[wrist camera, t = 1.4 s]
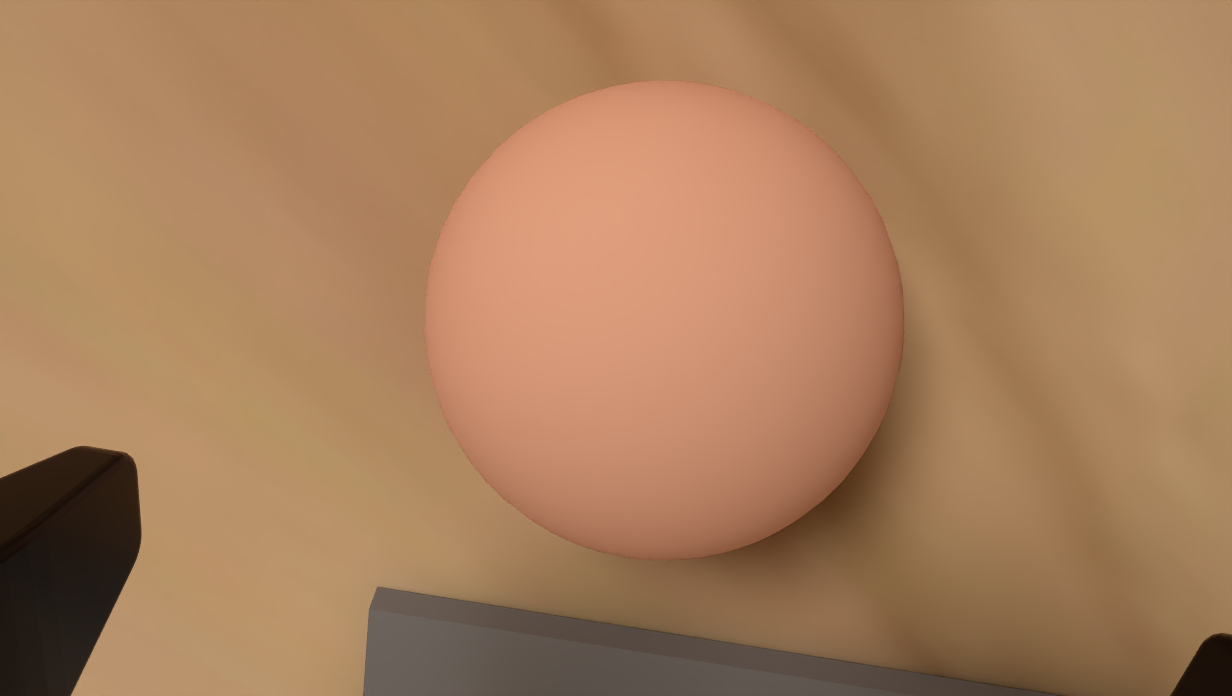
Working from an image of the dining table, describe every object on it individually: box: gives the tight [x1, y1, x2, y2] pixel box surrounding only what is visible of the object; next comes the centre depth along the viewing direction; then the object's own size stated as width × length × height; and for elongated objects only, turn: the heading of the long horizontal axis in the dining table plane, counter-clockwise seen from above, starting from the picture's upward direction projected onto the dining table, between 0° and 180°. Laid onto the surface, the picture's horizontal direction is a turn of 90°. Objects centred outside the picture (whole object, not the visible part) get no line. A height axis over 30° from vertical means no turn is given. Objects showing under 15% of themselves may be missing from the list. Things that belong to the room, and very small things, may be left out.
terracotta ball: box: [425, 81, 904, 560], centre depth 13 cm, size 6×6×6 cm
